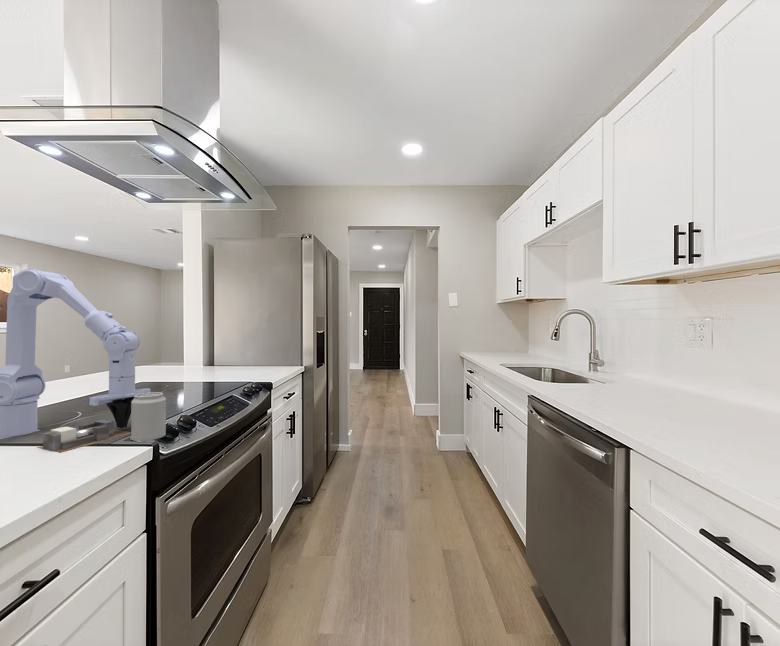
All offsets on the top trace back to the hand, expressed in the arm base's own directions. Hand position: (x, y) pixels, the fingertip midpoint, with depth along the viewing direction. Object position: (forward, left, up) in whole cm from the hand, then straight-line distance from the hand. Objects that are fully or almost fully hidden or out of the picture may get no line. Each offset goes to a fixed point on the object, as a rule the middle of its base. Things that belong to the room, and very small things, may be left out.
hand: (121, 427), depth 100 cm
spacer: (0, -13, -1) cm, 13 cm away
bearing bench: (0, -8, -2) cm, 8 cm away
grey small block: (0, -8, -1) cm, 8 cm away
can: (+11, 0, -2) cm, 11 cm away
